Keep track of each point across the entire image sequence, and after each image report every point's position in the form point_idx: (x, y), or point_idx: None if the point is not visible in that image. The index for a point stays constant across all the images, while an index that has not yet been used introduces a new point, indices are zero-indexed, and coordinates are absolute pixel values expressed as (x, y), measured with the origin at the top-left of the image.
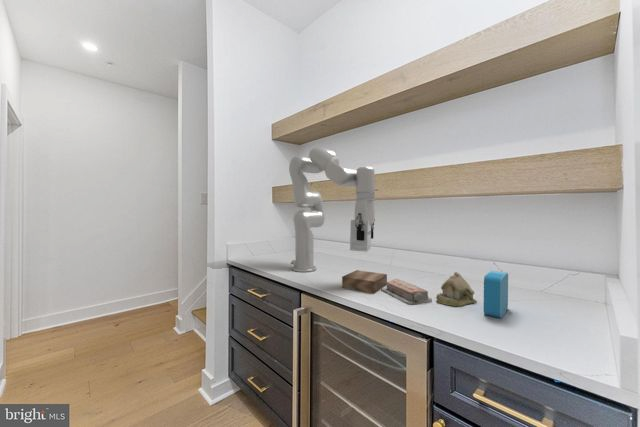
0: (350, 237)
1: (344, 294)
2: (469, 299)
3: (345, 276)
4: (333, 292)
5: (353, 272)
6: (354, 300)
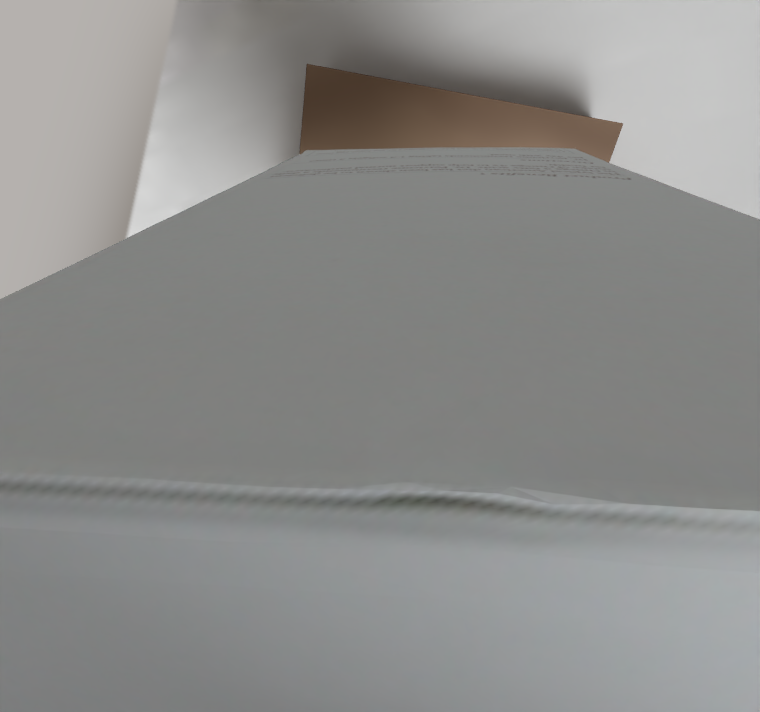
0: (233, 189)
1: (193, 143)
2: None
3: (323, 95)
4: (190, 46)
5: (506, 121)
6: (131, 235)
